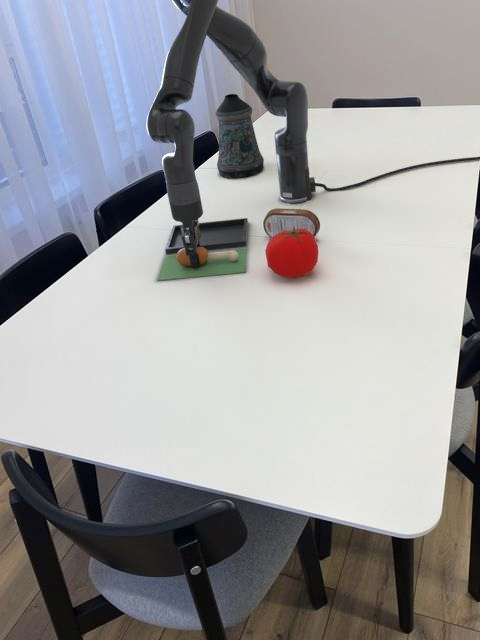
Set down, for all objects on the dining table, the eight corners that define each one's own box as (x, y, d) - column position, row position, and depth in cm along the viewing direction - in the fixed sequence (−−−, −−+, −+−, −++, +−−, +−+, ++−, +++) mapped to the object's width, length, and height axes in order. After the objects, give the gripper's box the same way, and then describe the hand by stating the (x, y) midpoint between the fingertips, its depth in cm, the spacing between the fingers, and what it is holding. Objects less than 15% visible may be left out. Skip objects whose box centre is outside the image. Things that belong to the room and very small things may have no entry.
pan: (248, 223, 165) (247, 217, 164) (246, 247, 152) (245, 241, 151) (174, 231, 167) (173, 225, 166) (166, 255, 154) (165, 249, 153)
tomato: (304, 289, 131) (300, 246, 125) (258, 280, 137) (253, 239, 131) (330, 263, 140) (328, 222, 134) (286, 256, 146) (282, 216, 140)
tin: (321, 238, 152) (319, 208, 147) (318, 243, 149) (316, 213, 145) (267, 236, 157) (264, 207, 152) (263, 241, 154) (260, 211, 149)
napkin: (247, 249, 151) (247, 248, 151) (245, 272, 141) (245, 271, 141) (165, 257, 153) (164, 256, 153) (157, 281, 142) (157, 280, 142)
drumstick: (239, 256, 148) (237, 239, 145) (238, 264, 144) (236, 247, 142) (179, 262, 149) (176, 245, 146) (177, 270, 145) (173, 253, 143)
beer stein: (238, 182, 194) (227, 104, 180) (204, 172, 207) (191, 99, 193) (274, 168, 202) (266, 92, 188) (239, 159, 215) (229, 88, 201)
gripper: (196, 207, 131) (209, 274, 140) (202, 185, 142) (213, 248, 152) (164, 211, 131) (179, 277, 141) (173, 188, 143) (185, 251, 153)
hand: (197, 262), depth 147 cm, fingers closed on drumstick, 4 cm apart
